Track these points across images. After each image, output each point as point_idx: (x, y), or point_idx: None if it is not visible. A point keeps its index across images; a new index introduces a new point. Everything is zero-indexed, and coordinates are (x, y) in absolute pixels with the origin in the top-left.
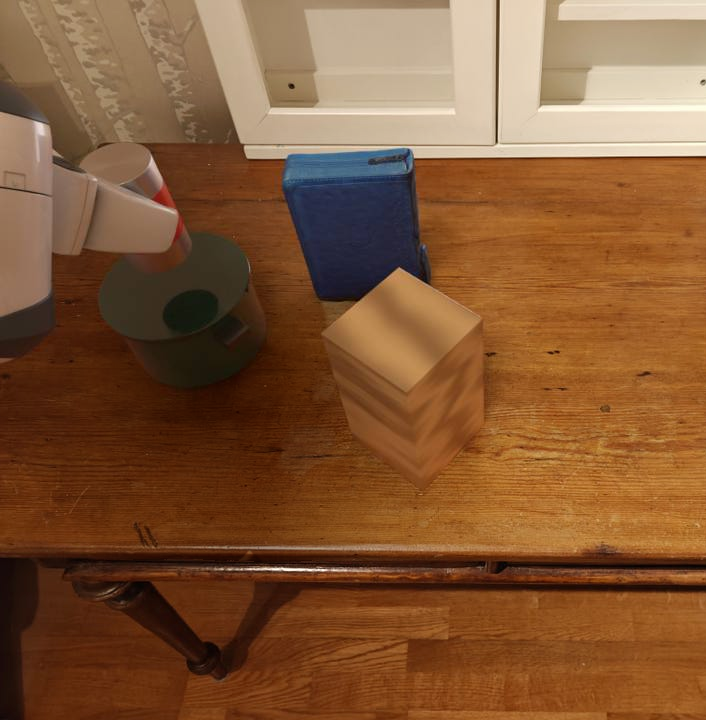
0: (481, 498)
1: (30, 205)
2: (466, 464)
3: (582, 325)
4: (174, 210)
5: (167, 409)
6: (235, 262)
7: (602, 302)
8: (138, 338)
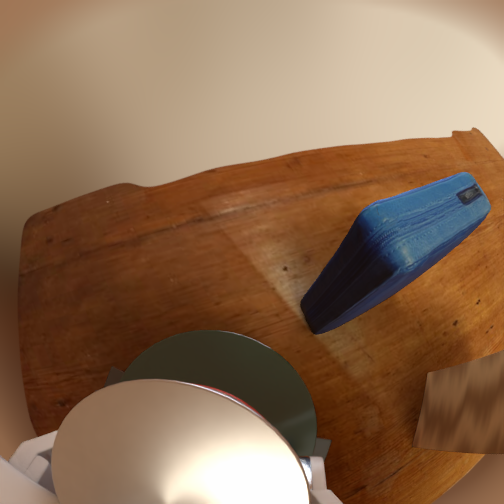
0: None
1: None
2: None
3: (478, 273)
4: (323, 464)
5: None
6: (272, 370)
7: (475, 250)
8: None
